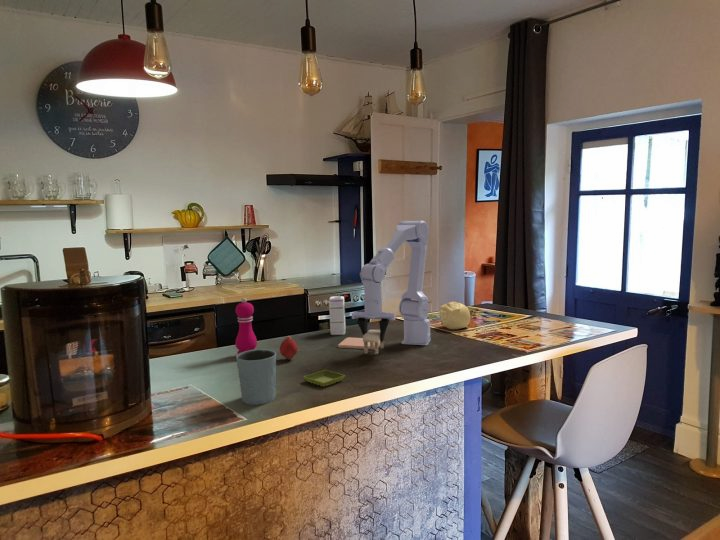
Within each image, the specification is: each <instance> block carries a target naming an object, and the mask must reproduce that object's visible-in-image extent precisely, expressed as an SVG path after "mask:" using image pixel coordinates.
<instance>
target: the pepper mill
mask: <svg viewBox="0 0 720 540" xmlns="http://www.w3.org/2000/svg"><path fill="white" fill-rule="evenodd" d="M247 301H248V299H247V298H246V297H243V298H242V299H241V302H239V303H238V304H237V305H236V307H235V314H236V315H237V322H238V325H239V326H238V327H239V328H238V332H237V336H236V338H235V347H236V349H238V350H237V354H236V356H237V355H238V354H240V353H242V352H245V351H249V350H256V347H257V346H258V340H257V336H256V335H255V332H254V330H253V326H252V321H253V320H254V319H253V318H254V316H253V314H254V311H255V309H254V308H255V307H254V305H253V304H252V303H251V302H247Z"/></svg>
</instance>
